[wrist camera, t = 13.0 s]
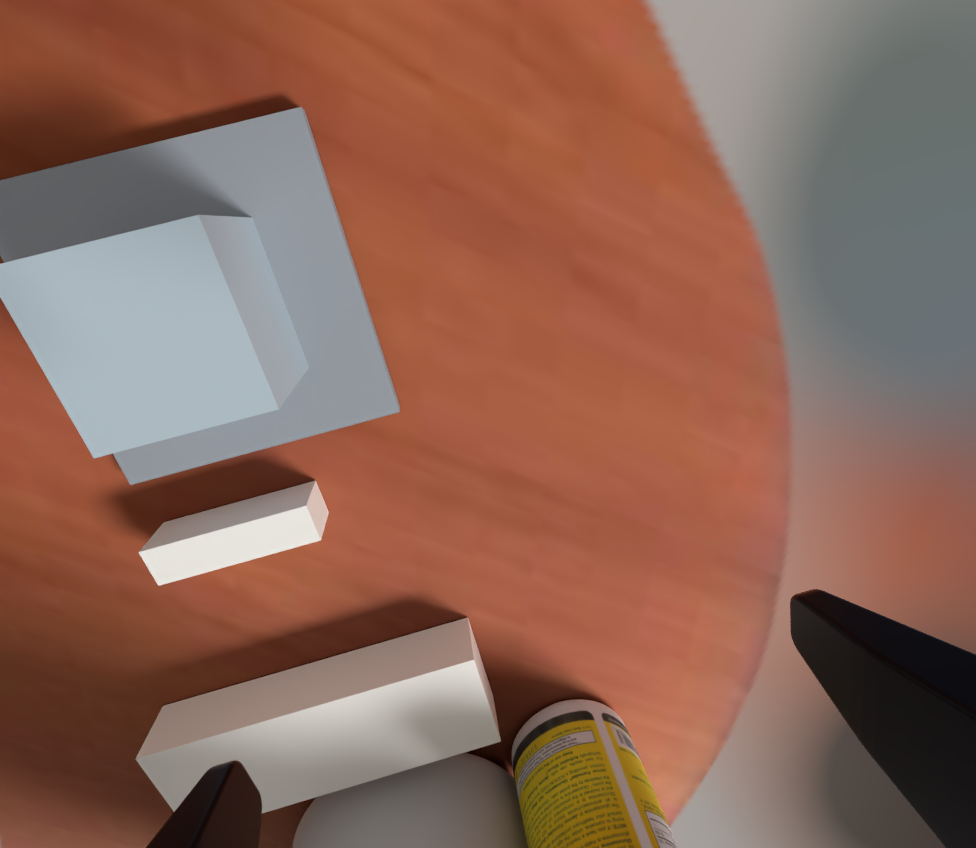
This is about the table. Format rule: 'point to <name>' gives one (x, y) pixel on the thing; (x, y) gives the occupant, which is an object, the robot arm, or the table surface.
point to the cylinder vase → (420, 810)
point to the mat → (286, 240)
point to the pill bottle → (584, 781)
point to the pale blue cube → (158, 330)
